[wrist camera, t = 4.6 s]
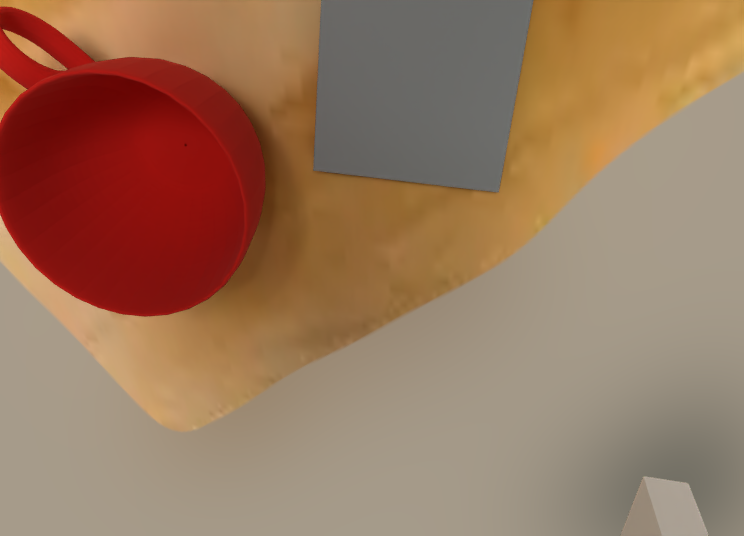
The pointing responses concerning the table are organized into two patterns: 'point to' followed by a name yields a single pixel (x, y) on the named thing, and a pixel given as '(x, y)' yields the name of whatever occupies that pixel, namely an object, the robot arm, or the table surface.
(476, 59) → the coaster
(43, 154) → the ceramic cup
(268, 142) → the table surface
